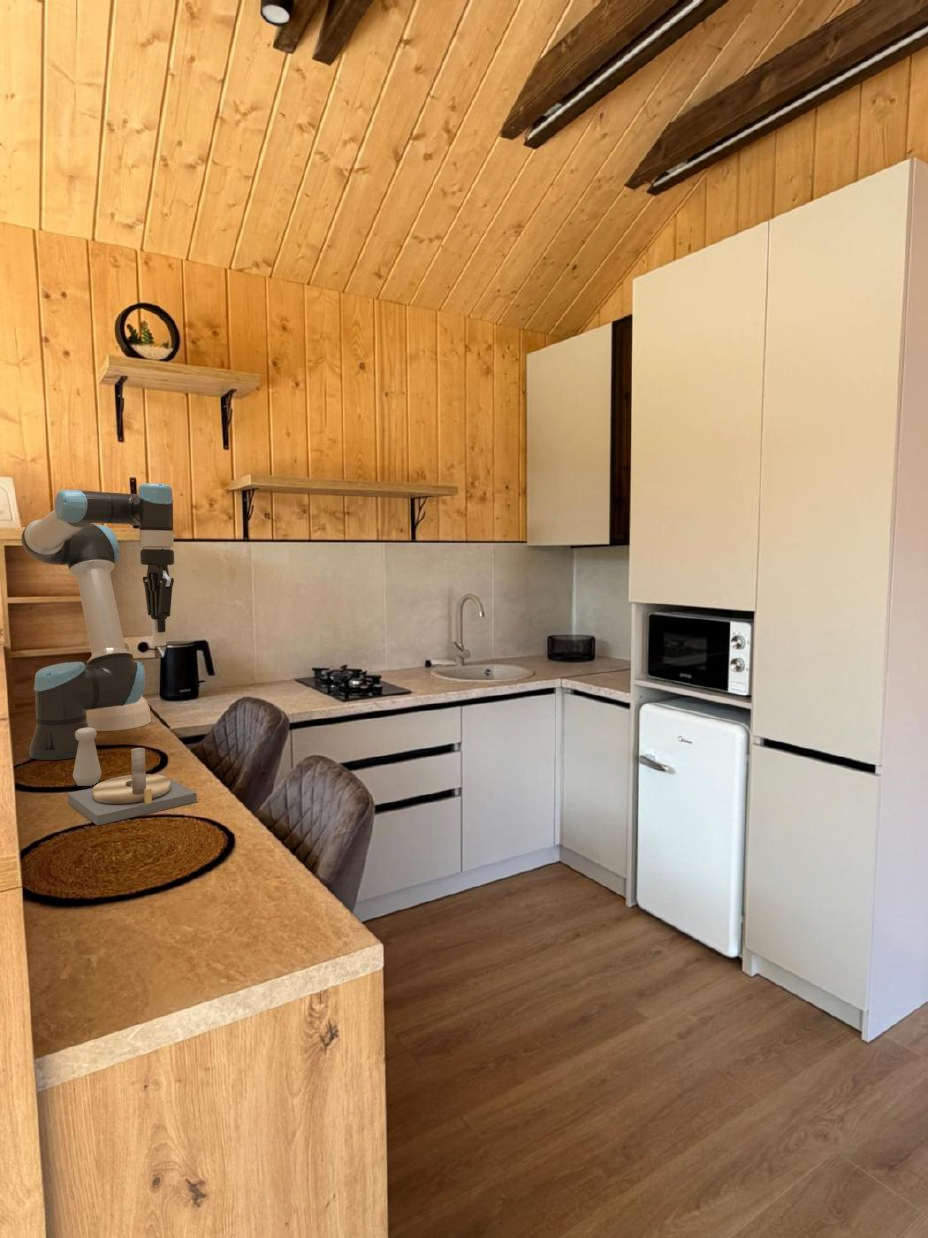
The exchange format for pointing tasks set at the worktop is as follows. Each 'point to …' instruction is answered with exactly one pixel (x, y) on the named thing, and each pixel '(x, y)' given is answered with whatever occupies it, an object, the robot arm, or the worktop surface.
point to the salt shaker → (86, 758)
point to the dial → (131, 783)
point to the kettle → (119, 717)
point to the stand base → (130, 804)
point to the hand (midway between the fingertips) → (159, 645)
